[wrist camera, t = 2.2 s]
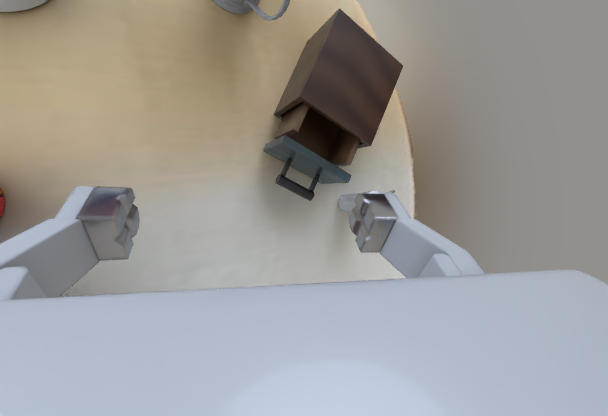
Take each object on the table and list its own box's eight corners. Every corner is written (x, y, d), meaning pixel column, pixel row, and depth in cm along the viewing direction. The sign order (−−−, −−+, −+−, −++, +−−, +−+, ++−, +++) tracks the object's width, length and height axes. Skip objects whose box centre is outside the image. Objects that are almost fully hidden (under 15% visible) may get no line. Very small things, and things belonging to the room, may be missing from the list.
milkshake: (362, 199, 54) (402, 201, 45) (345, 221, 52) (383, 227, 43) (347, 182, 52) (386, 180, 43) (329, 204, 51) (365, 206, 42)
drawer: (312, 206, 48) (337, 209, 41) (251, 175, 44) (268, 172, 37) (349, 118, 51) (379, 107, 44) (295, 80, 46) (318, 60, 39)
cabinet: (335, 153, 51) (371, 145, 42) (273, 114, 46) (299, 96, 37) (364, 86, 53) (403, 65, 44) (307, 41, 47) (339, 7, 39)
